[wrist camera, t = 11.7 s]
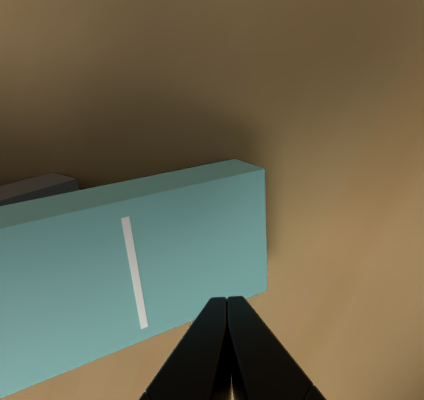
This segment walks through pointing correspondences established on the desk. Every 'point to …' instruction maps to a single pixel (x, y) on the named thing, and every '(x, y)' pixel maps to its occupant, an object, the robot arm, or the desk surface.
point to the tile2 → (37, 188)
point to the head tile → (124, 264)
